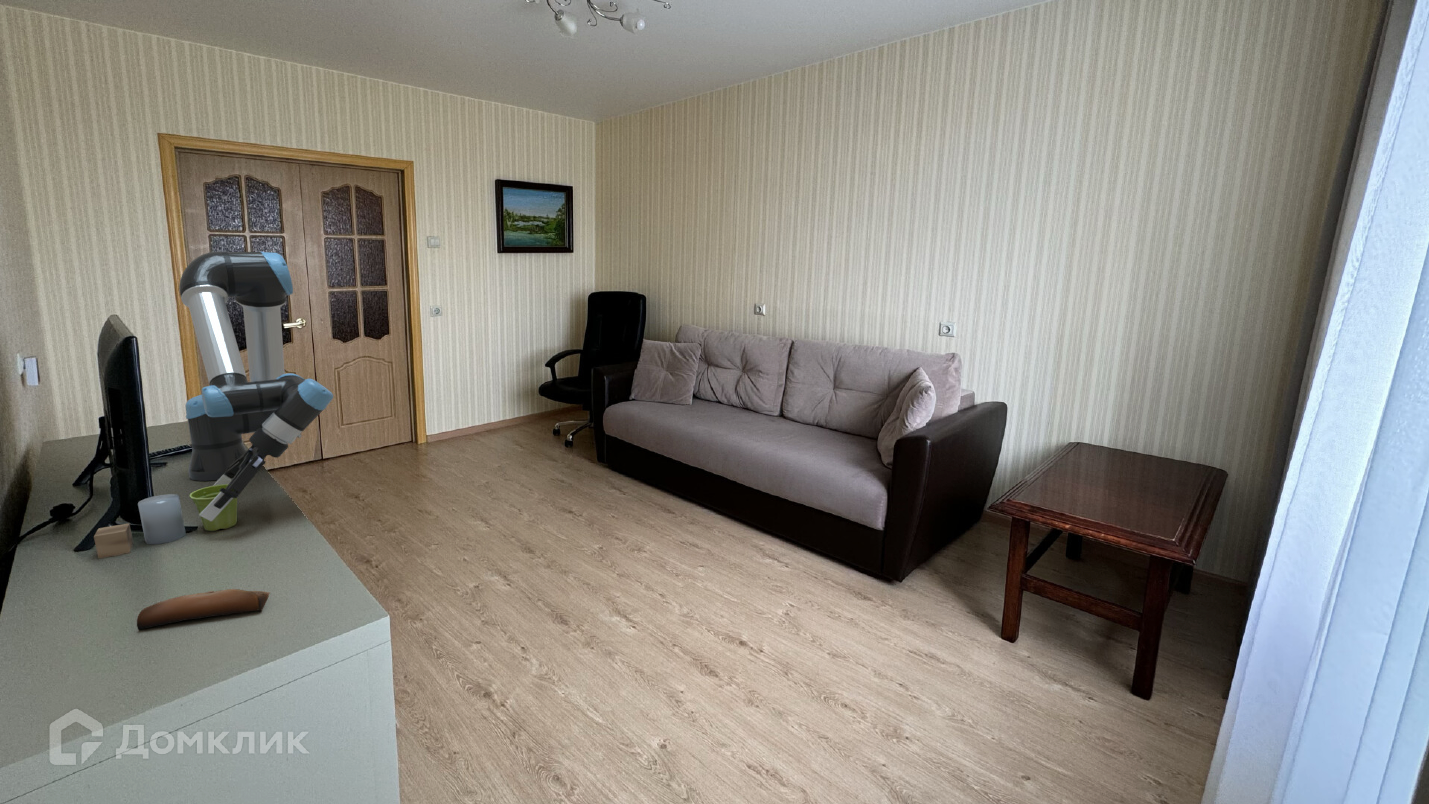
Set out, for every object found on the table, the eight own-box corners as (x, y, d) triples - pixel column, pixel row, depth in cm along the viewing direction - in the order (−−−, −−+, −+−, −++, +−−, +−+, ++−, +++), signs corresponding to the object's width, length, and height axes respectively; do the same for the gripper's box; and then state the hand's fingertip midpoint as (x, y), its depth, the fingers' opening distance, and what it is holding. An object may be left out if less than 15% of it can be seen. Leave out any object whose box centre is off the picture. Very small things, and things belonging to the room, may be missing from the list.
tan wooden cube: (103, 550, 141) (98, 528, 140) (133, 544, 144) (129, 523, 143) (98, 558, 137) (93, 536, 136) (130, 553, 140) (125, 531, 139)
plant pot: (255, 519, 158) (250, 484, 156) (223, 535, 149) (216, 499, 147) (219, 517, 159) (213, 483, 157) (185, 533, 150) (178, 497, 148)
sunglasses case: (274, 590, 125) (264, 570, 120) (268, 623, 120) (258, 604, 116) (158, 607, 119) (143, 586, 114) (146, 643, 114) (131, 623, 110)
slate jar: (147, 535, 149) (140, 498, 147) (186, 528, 152) (180, 492, 150) (143, 547, 143) (135, 508, 141) (184, 539, 147) (177, 501, 145)
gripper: (292, 457, 149) (221, 535, 144) (287, 433, 169) (224, 500, 164) (261, 438, 145) (186, 517, 140) (259, 416, 165) (193, 484, 160)
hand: (206, 508), depth 152 cm, fingers open, 13 cm apart
